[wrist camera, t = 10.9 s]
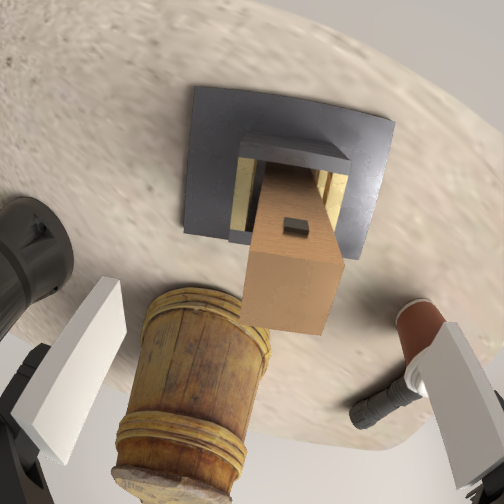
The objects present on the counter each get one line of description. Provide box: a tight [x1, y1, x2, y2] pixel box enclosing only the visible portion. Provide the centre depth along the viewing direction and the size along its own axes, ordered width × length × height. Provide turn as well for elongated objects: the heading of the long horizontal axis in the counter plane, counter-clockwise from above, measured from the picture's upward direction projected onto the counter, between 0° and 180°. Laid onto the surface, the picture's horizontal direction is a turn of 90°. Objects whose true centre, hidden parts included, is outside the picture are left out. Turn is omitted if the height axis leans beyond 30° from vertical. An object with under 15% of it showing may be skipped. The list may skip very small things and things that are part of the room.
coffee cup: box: [395, 298, 446, 398], centre depth 35 cm, size 9×9×12 cm
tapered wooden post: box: [239, 161, 345, 336], centre depth 23 cm, size 4×4×20 cm
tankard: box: [111, 287, 271, 504], centre depth 35 cm, size 18×24×25 cm
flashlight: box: [349, 373, 423, 430], centre depth 46 cm, size 15×5×5 cm, turn 141°
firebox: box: [184, 86, 395, 260], centre depth 29 cm, size 20×16×9 cm
